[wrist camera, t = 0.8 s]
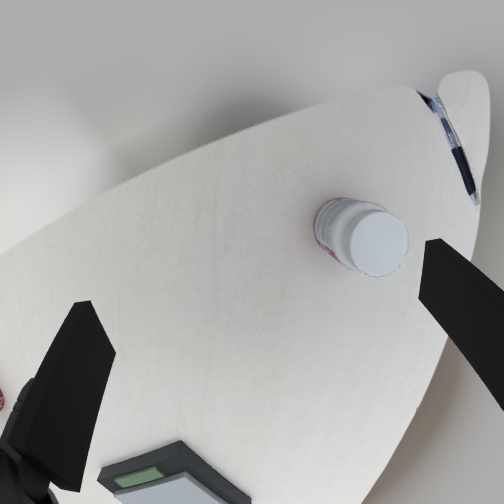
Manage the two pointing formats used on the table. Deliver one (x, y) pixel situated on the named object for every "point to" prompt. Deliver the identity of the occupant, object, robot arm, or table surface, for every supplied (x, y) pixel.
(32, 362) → the table surface
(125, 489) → the scale
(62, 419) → the robot arm
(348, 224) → the pill bottle
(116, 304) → the table surface
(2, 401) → the mug
